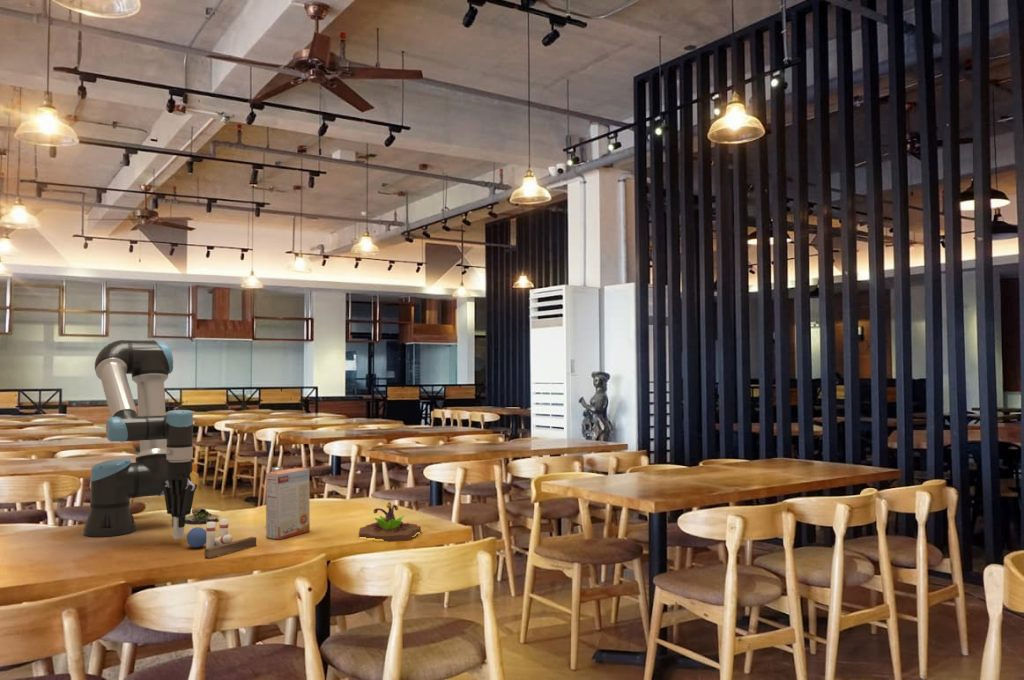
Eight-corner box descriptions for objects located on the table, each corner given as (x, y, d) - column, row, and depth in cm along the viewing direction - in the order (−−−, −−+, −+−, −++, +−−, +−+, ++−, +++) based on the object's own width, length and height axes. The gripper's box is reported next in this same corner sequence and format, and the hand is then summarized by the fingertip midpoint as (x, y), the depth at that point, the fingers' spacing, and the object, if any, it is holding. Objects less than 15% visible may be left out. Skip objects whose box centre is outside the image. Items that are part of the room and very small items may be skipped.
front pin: (205, 541, 240) (225, 534, 236) (211, 539, 242) (231, 533, 238) (206, 549, 239) (227, 543, 236) (213, 548, 241) (233, 541, 238)
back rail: (204, 557, 229) (204, 549, 229) (251, 545, 245) (251, 536, 245) (209, 558, 228) (209, 549, 228) (256, 545, 244) (256, 537, 244)
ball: (198, 539, 237) (192, 554, 239) (214, 533, 242) (208, 548, 244) (185, 526, 239) (179, 541, 241) (202, 520, 244) (196, 536, 246)
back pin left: (217, 548, 241) (217, 519, 241) (223, 546, 243) (224, 518, 243) (223, 549, 240) (223, 520, 240) (229, 547, 242) (230, 519, 242)
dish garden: (208, 526, 275) (208, 504, 275) (176, 525, 277) (176, 503, 277) (225, 519, 287) (226, 498, 287) (195, 518, 289) (195, 497, 289)
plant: (351, 542, 250) (351, 506, 251) (364, 529, 270) (365, 496, 270) (415, 543, 250) (415, 507, 250) (424, 530, 269) (424, 496, 270)
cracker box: (296, 530, 267) (297, 467, 267) (310, 532, 264) (310, 468, 264) (264, 538, 255) (265, 472, 255) (278, 540, 252) (278, 473, 252)
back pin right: (204, 551, 236) (204, 522, 236) (210, 550, 238) (211, 521, 239) (210, 552, 235) (210, 523, 235) (217, 550, 237) (217, 522, 238)
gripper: (154, 460, 247) (153, 538, 246) (184, 463, 241) (183, 542, 240) (174, 458, 253) (173, 533, 253) (204, 460, 247) (203, 537, 247)
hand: (178, 537), depth 246 cm, fingers closed
